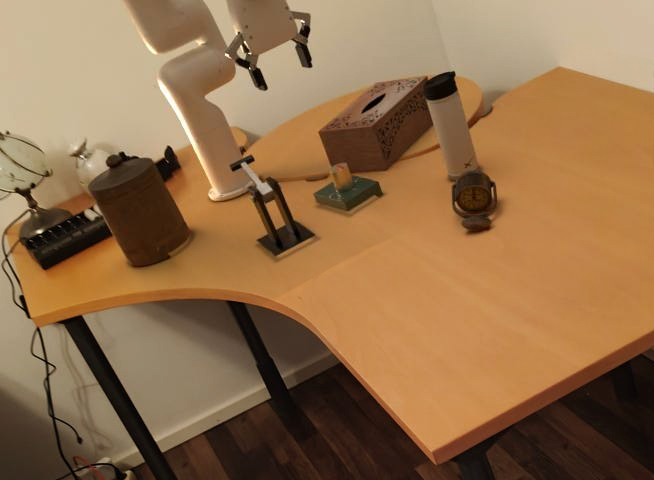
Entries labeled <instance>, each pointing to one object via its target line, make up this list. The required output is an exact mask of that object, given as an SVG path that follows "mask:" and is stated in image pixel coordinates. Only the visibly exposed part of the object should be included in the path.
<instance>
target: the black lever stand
mask: <svg viewBox="0 0 654 480" xmlns="http://www.w3.org/2000/svg"><path fill="white" fill-rule="evenodd" d="M265 182H267V183H268V185H269V186H270V187H271V188H272V190H273V192H274V196H275V199H274V200H273V201H274V202H275V204H276V207H277V209H278V211H279V214H280V216H281V218H282V221H283V223H284V225H282V226H280V227H278V228H277V229H276V226H275V224H274V222H273V219H272V216H271V215H270V212H269V210H268V208H267V205H266V204H265V203H264V201H263V199H262V197H261V194H260V192H259V190H257V188H256V187H255V186H254V187H253V186H249V187H247V189H248V191H247V192H248V193H249V195H250V196H249V198H250V201H251V202H252V203H253V204H254V208H255V209H256V211H257V214H258V215H259V217H260V220H261V222H262V225H263V227H264V229H265V231H266V233H267V234H265V235H263V236H261V237H259V238H258V239H256V242H257V243H259V245H261V246H262V247H263V248H265V250H267V252H269V253H270V254H271V255H273V256H274V257H277V256H279V255H281V254H283V253H284V252H287V251H288V250H291V249H292V248H294V247H296V246H298V245H300V244H302V243H303V242H305V241H307V240H309V239H311V238H313V237H315V236H316V234H315V233H314V232H313V231H311V230H310V229H308V228H307V227H306V226H304V225H303V224H302V223H300V222H299V221H297V220H295V219H294V217H293V214H292V212H291V210H290V208H289V205H288V203H287V201H286V200H287V199H286V198H285V195H284V194H283V191H282V187H281V184H280V183H279V181H277V180H276V179H274V178H273V177H272V176H270V175H269V176H267V177H266V178H265Z"/></svg>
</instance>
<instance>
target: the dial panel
mask: <svg viewBox="0 0 654 480" xmlns="http://www.w3.org/2000/svg"><path fill="white" fill-rule="evenodd" d="M351 176H352V179H353V182H354V186H353V187H352V188H351V189H349V190H347V191H344V192H337V191H336V189H335V187H334V184H333V181H332V182H330V183H328V184H326V185H325V186H323V187H322V188H320V189H318V190H316V191H315V192H314V193H312V195H313V198H314V199H315V202H316V203H318V204H322V205H324V206H327V207H331V208H335V209H337V210H341V211H344V212H350V211H351V210H353V209H354V208H357V207H358V206H359V205H361V204H362V203H364V202H365V201H368V200H369V199H370V198H373V196H376V197H377V198H380V197H381V196H383V195H384V193H383V190H382V187H381V184H380V182H379V181H378V180H375V179H371V178H365V177H362V176H358V175H354V174H351Z"/></svg>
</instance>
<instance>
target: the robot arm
mask: <svg viewBox="0 0 654 480" xmlns="http://www.w3.org/2000/svg"><path fill="white" fill-rule="evenodd" d="M121 2H122V4H123V6H124V8H125V9H126V12H127V13H128V16H129V17H130V19H131V21H132V23H133V25H134V27H135V29H136V31H137V33H138V35H139V36H140V38H141V40H142V41H143V44H144V45H145V46H146V48H147V49H148V51H149V52H150V53H152V54H154V55H156V56H162V55H167V54H169V53H171V52H173V51H176V50H178V49H180V48H182V47H184V46H186V45H188V44H190V43H192V42H196V44H198V45H197V46H196V47H194V48H192V49H189V50H188V51H185V52H183V53H181V54H179V55H177V56H175V57H173V58H171V59H169V60H168V61H166V62H165V63H164V64H162V65H161V66H160V67H159V69H158V71H157V74H156V81H157V85H158V87H159V89H160V90H161V92H162V94H163V95H164V97H165V98H166V100H167V101H168V102H169V104H170V105H171V107H172V109H173V110H174V112H175V114H176V115H177V117H178V119H179V121H180V123H181V125H182V128H183V129H184V131H185V133H186V135H187V137H188V139H189V141H190V144H191V145H192V147H193V149H194V152H195V154H196V156H197V158H198V161H199V162H200V165H201V166H202V169H203V170H204V173H205V175H206V177H207V180H208V181H209V183H210V185H211V188H210V189H209V191H208V197H209V199H210V200H211V201H214V202H222V201H227V200H231V199H235V198H237V197H239V196H241V195H243V194H245V193H247V192H249V191H248V189H247V187H249V186H253V187H254V188H255V187H256V185H255V184H254V183H253V182H252V180H251V179H250V178H249V177H248V175H247V174H246V173H245V171H244V170H243V169H242V168H240V169H238V170H236V171H234V172H232V170H231V169H230V166H229V165H230V164H232V163H234V162H236V161H239V160H241V159H243V158H244V156H243V154H242V152H241V150H240V147H239V145H238V142H237V140H236V138H235V135H234V133H233V131H232V129H231V126H230V124H229V122H228V120H227V117H226V115H225V113H224V112H223V110H222V109H221V108H220V107H219V106H218V105H217V104H215V103H213V102H211V101H209V100H208V99H207V98H206V96H207V95H209V94H210V93H211V92H214V91H216V90H217V89H219V88H222V87H223V86H225V85H227V84H229V83H230V82H232V81H233V79H234V78H235V77H236V74H237V67H236V66H238V67H240V68H243V69H244V70H247V71H248V74H249V76H250V79H251V81H252V83H253V85H254V87H255V88H256V89H258V90H259V91H262V92H266V91H268V89H269V87H268V84H267V82H266V80H265V77H264V75H263V71H262V70H261V68H260V67H258V66H257V65H258V61H259V57H260V55H262V54H265V53H267V52H270V51H272V50H273V49H276V48H277V47H279V46H281V45H284V44H285V43H287V42H289V41H292V42H294V43H295V44H296V45H295V46H294V49H295V52H296V54H297V57H298V59H299V62H300V66H301V68H307V69H311V68H313V67H314V66H313V63H312V61H313V57H312V55H311V52H310V49H309V47H308V43H309V36H310V33H311V21H312V20H311V19H312V16H311V13H309V12H303V11H302V12H301V11H296V10H292V9H291V8H290V6H289V4H288V1H287V0H226V6H227V10H228V14H229V18H230V21H231V25H232V28H233V31H234V34H235V37H234V38H233V39H232V41H231V43H230V44H229V45H227V43H226V41H225V39H224V37H223V35H222V32H221V30H220V28H219V26H218V24H217V22H216V20H215V18H214V16H213V14H212V12H211V10H210V8H209V7H208V5H207V4H206V2H205V1H204V0H121ZM296 20H300V22H301V23H300V25H301V27H300V29H299V28H298V25H297V23H296ZM239 49H240V50H241V51H242V53H243V54H245V57H244V58H242V57H240V55H239V54H238V50H239ZM253 172H254V173H255V175H256V176H257V177H258V178H259V179H260V176H259V174H258V173H257V172H256V171H253Z"/></svg>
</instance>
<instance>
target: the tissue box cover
mask: <svg viewBox="0 0 654 480" xmlns="http://www.w3.org/2000/svg"><path fill="white" fill-rule="evenodd" d="M428 80H429V77H428V75H425V76H424V75H423V76H417V77H411V78H410V77H408V78H400V79H394V80H385V81H379V82H375V83H374V84H372V85H371V86H369V88H368V89H367V90H365V91H364V92H363V93H362V94H360V95H359V96H358V97H357V98H356V99H354V100H353V101H352V102H351V103H350V104H349V105H347V106H346V107H345V108H344V109H343V110H342V111H340V112H339V113H338V114H337V115H336V116H334V117H333V118H332V119H331V120H330V121H329V122H327V123H326V124H325V125H324V126H322V127H321V128H320V129H319V130H318V131H317V133H318V135H319V138H320V141H321V144H322V146H323V149H324V152H325V154H326V157H327V159H328V162H329V164H330V168H331V167H332V166H334V165H336V164H339V163H346V164H347V165H348V168H349V171H350V173H358V172H374V171H375V172H377V171H387V170H388V169H389V168H390V167H391V166H392V165H393V164H394V163H395V162H396V161H397V160H398V159H399V158H400V157H401V156H402V155H403V154H404V153H405V152H406V151H407V150H409V148H410V147H411V146H412V145H413V144H414V143H415V142H416V141H417V140H419V138H420V137H421V136H422V135H423V134H424V133H425V132H427V130H428V129H429V128H431V126H433V125H434V124H433V121H432V118H431V114H430V111H429V107H428V104H427V101H426V96H425V93H424V90H423V86H424V85H425V83H426V82H427V81H428Z"/></svg>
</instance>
